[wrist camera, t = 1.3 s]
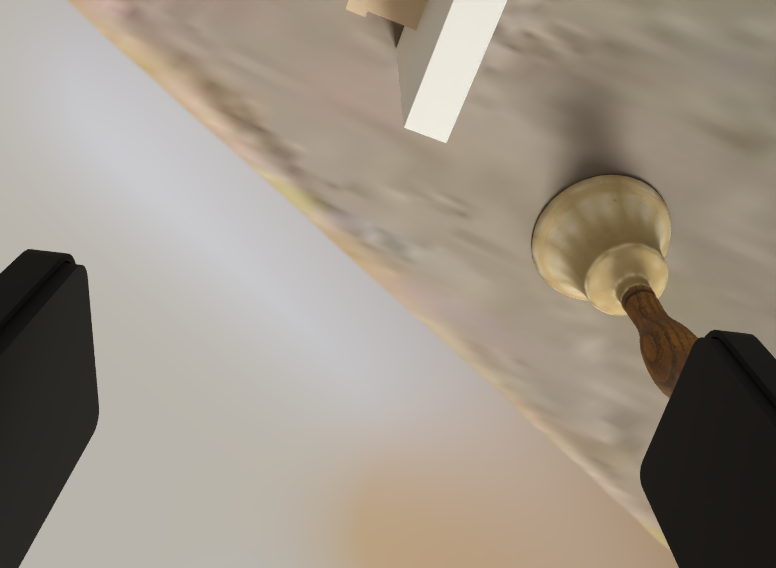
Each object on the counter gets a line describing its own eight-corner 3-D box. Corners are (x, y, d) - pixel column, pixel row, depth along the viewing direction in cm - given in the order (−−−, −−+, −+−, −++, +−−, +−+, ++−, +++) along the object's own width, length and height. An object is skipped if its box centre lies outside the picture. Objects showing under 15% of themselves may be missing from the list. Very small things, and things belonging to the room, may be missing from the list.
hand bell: (552, 315, 43) (633, 507, 29) (514, 204, 39) (586, 363, 25) (681, 271, 41) (833, 452, 27) (654, 152, 38) (814, 290, 24)
